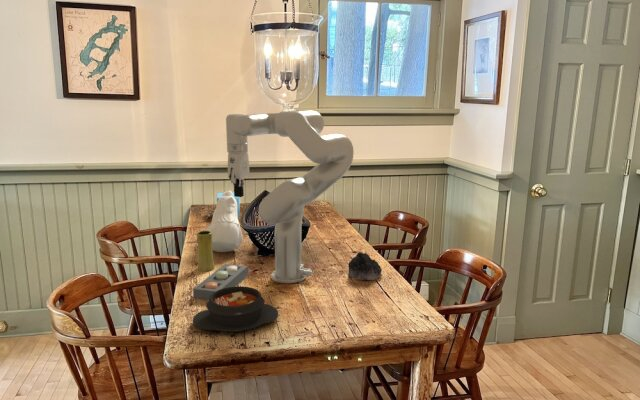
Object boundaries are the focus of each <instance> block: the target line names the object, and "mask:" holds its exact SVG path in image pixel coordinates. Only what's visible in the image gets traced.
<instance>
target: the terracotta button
mask: <svg viewBox="0 0 640 400" xmlns="http://www.w3.org/2000/svg"><path fill="white" fill-rule="evenodd" d="M217 287H218V284H217V283H216V282H208V283H206V284H205V288H208V289H216V288H217Z"/></svg>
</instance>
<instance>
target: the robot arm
mask: <svg viewBox="0 0 640 400" xmlns="http://www.w3.org/2000/svg"><path fill="white" fill-rule="evenodd" d="M225 125H226V126H225V128H226V151H227V153H228V154H227V176H228V179H229V180H230V184H232V185H233V192H234V196H235V197H239V198H242V197H244V193H245V192H244V191H245V189H244V188H245V187H244V185H245V184H244V183H245V179H246V178H248V177H249V176H250V160H249V154H248V150H249V149H248V137H253V136H260V135H278V136H280V137H283V138H289V140H290V141H291V142H292V143H293V144H294V145H295V147H297V148H298V149H299V150H300V151H301V152H302V153H303V155H305V157H306V158H307V159H308V160H309V161H311V162H312V163H315V164H316V165H314V167H313V168H311V169H310V170H309V171H308V172H307V173H306V174H303V175H302V176H298V177H295V178H291V179H287V180H285V181H283V182H281V183H280V184H278V185H277V187H275V188H274V189H273V190H272V191H270V192H269V193H268V194H267V195H265V197H264V198H262V200H261V201H260V203H259V205H258V215H259V218H260V220H262V222H263V223H265V224H268V225H275V226H274V262H275V263H274V264H275V265H274V266H275V268H274V270H273V271H272V273H270V278H271V280H272V281H274V282H276V283H280V284H294V283H295V284H296V283H299V282H302V281H303V280H305V278H307V277H312V276H313V270H312V268H306V267H305V264H304V263H302V223H303V215H304V212H305V211H304V210H305V206H306V205H308V204H311V203H313V202H315V201H316V200H317V199H318V198H319V197H320V196H322V194H324V193H325V192H326V191H328V190H329V188H331V187H332V186H333V185H335V184H336V183H337V182H339V180H341V179H342V177H344V176H345V175H346V173H348V171H349V170H350V167H351V166H352V162H353V160H354V154H355V153H354V145H353V143H352V140H350V138H349V137H348V136H346V135H343V134H340V133H339V134H338V133H332V134H326V135H320V134H321V132H322V131H323V129H324V126H325V120H324V118H323V116H322V114H321V113H319V112H317V111H315V110H298V111H297V110H292V111H279V112H276V113H269V112H268V113H252V114H244V113H243V114H242V113H231V114H228V115H226V117H225Z"/></svg>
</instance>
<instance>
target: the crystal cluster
mask: <svg viewBox="0 0 640 400" xmlns="http://www.w3.org/2000/svg"><path fill="white" fill-rule="evenodd" d="M381 267H382V266H380V265H379V263H378V262H377V261H376V260H375V259H372V258H371V256H370V255H369V254H368V253H366V252H357V253H356V255H355V256H354V257H353V258H352V259H351V260H350V261H349V262H348V271H347V275H348V277H350V278H352V279H355V280H361V281H364V280H367V281H375V280H377V279H379V278H380V277H382V270H383V269H382V268H381Z"/></svg>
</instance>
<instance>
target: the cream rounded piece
mask: <svg viewBox="0 0 640 400" xmlns="http://www.w3.org/2000/svg"><path fill="white" fill-rule="evenodd" d="M226 271H231V272H236V271H237V266H228V267H226Z"/></svg>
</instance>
